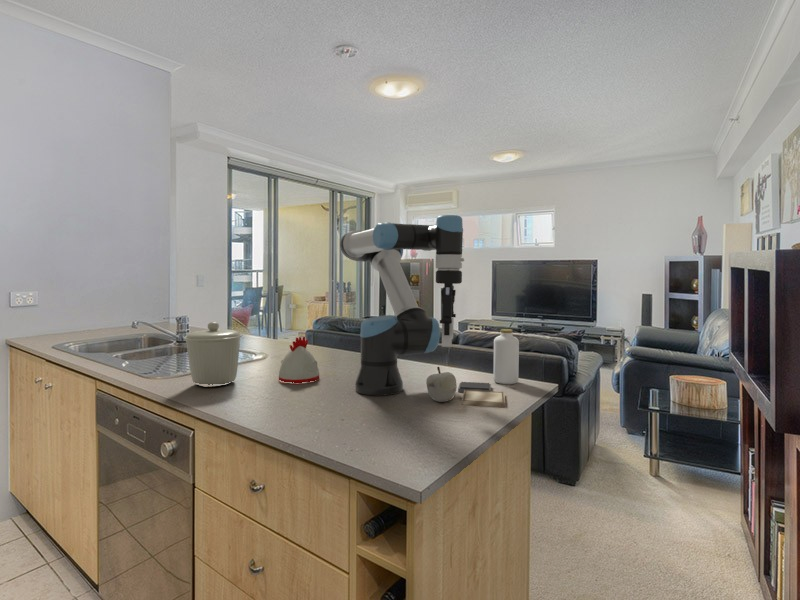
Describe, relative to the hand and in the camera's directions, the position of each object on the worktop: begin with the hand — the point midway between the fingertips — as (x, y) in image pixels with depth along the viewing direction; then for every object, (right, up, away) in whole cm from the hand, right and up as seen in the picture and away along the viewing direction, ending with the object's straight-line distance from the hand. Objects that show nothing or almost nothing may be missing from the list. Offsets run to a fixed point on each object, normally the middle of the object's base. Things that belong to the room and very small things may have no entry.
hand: (447, 342), depth 131 cm
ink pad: (+10, -16, +12) cm, 23 cm away
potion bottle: (+22, -16, +22) cm, 35 cm away
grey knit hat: (-49, -16, +27) cm, 58 cm away
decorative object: (-2, -17, 0) cm, 17 cm away
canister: (-76, -16, +20) cm, 80 cm away
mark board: (+11, -17, +1) cm, 20 cm away
